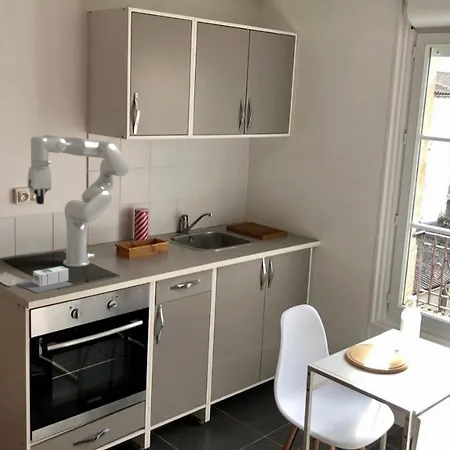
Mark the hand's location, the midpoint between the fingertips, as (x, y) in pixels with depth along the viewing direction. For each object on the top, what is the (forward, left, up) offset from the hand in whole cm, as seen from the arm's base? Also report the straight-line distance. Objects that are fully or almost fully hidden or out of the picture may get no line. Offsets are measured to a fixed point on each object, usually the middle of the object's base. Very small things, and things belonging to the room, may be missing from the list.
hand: (40, 203), depth 285 cm
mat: (+10, +19, -32) cm, 39 cm away
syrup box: (-1, +19, -29) cm, 35 cm away
